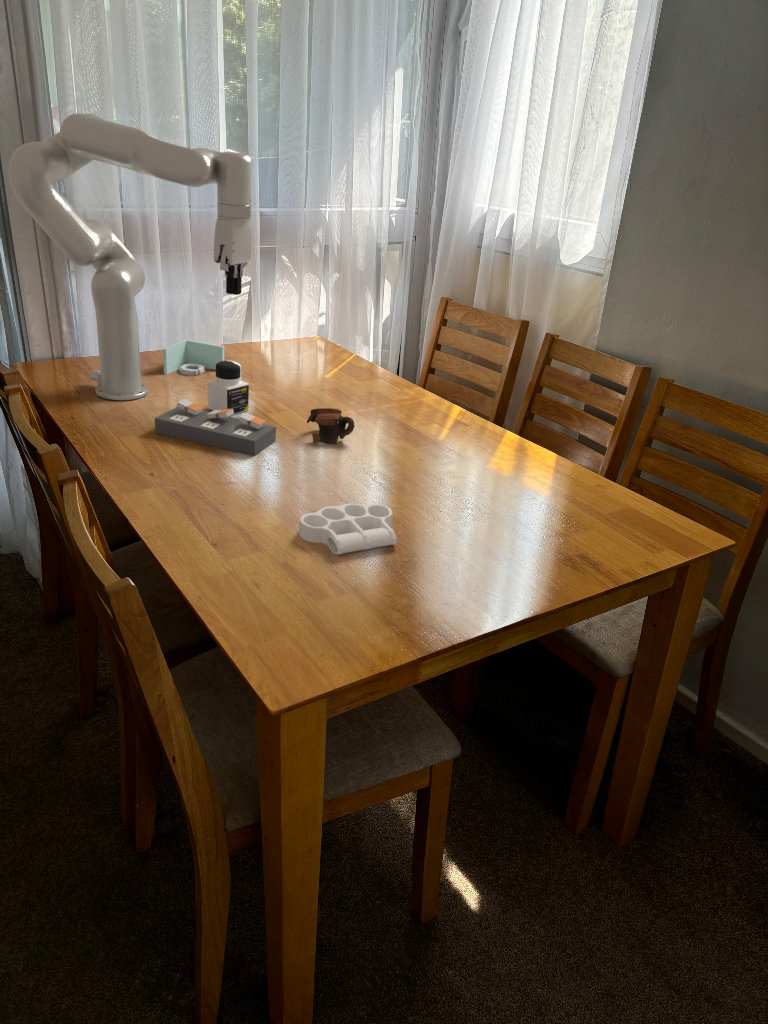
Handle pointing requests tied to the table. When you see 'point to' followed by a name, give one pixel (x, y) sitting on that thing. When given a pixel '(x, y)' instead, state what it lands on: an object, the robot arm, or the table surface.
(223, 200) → the robot arm
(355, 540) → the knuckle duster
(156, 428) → the power strip
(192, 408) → the rocker
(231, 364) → the medicine bottle
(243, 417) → the rocker
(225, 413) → the rocker
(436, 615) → the table surface
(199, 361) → the right angle wall
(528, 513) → the table surface
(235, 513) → the table surface
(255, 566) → the table surface
